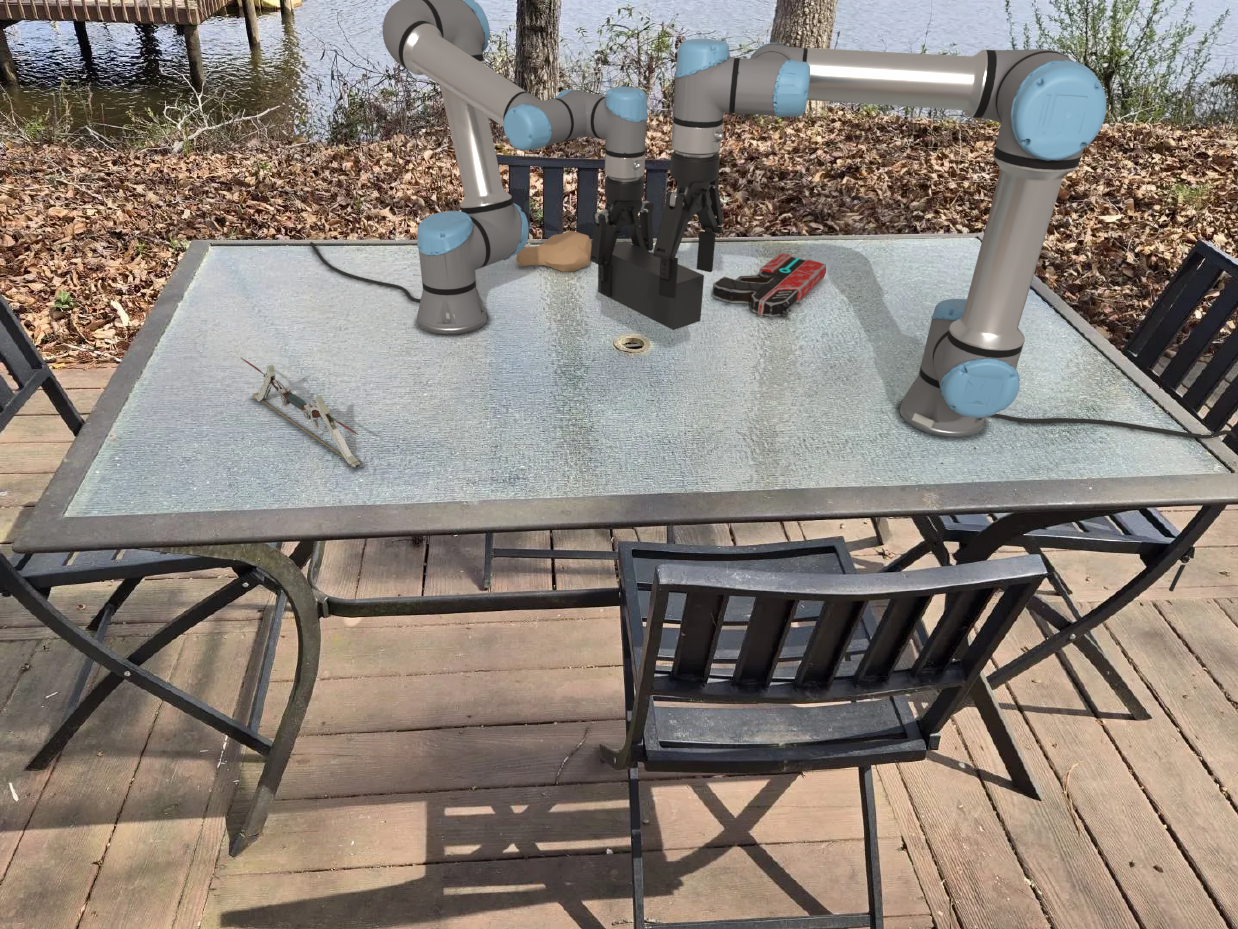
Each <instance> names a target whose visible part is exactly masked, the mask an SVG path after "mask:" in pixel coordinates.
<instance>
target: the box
mask: <svg viewBox="0 0 1238 929" xmlns="http://www.w3.org/2000/svg"><path fill="white" fill-rule="evenodd" d="M604 259H605V258H604ZM660 261H661V258H658V257H654V256H653V251H647V250H645V249H642V248H640V247H638V246H636V245H633V244H632V242H628V241H626V240H625V241H624V240H623V241H621V242H616V244H615V247H614V250H613V254H612V257H611V260H610V264H611V265H613V271H612V297H608V296H606V295H604V294H602V293H601V280H600V279H599V265H598V264H597V293H599V294H601V295H603V296H605V297H607V298H609V299H611V300H612V301H615V302H617V303H619V304H621V305H623V306H624V307H626V308H628V309H630V310H632V311H634V312H636V313H638V314H641V315H642V316H644V317H646V318H649V319H650V320H652V321H653V322H656V323H658V324H660V325H662V326H664V327H666V328H668V329H669V330H672V331H676V330H679V329H682V328H685V327H688V326H689V325H693V324H695V323H699V322H701V319H702V308H703V306H702V305H703V296H704V295H703V293H704V281H705V275H704V274H703V273H701V272H697V270H693V269H691V268H688V267H686V266H683V265H681V264H679V263H678V269H677V284H676V297H675V298H674V299H673V298H669V297H665V296H661V295H659V280H660Z"/></svg>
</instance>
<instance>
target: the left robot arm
mask: <svg viewBox="0 0 1238 929" xmlns="http://www.w3.org/2000/svg"><path fill="white" fill-rule="evenodd" d="M382 22H383V23H382V39H383V42H384V45H385V48H386V50H387V52H388V54H389V55H390V56H391V57H392V59H394V61H395V62H396V63H398V64H399V66H401V67H402V68H404V69H405V70H407V71H408V72H410V73H411V74H413V75H415V76H423V75H424V76H425V77H427V78H428V79H430V80H431V81H433V82H435V83H436V84H437V85H439V88H440V91H441V92H440V93H441V97H442V101H443V105H444V110H445V114H446V118H447V123H448V128H449V132H450V137H451V142H452V145H453V146H452V147H453V149H454V154H455V158H456V163H457V168H458V173H459V177H460V181H461V185H462V190H463V195H464V197H463V199H462V201H461V203H460V204H459V208H460V210H447V211H445V212H444V211H440V212H436V213H433V214H431V215H428V216H427V217H425V218H424V219H422V220H421V222H419V224H418V227H417V230H416V233H417V241H416V245H417V249H418V256H419V264H420V266H419V267H420V275H421V276H420V277H421V284H422V292H421V297H420V298H417V297H414V296H412V295H411V294H410V292H409V291H408V290H407V289H406V288H405V287H403V286H402V285H398V284H395V283H390V282H385V281H379V280H375V279H371V278H367V277H362V276H358V275H355V274H352V273H349V272H346V271H343V270H341V269H339V268H337V267H335V266H333V265H332V264H330V262H328V261H327V260H325V258H324V257H323V256H322V254H321V252H320V251H319V250H318V249H317V247H316V246H315V244H314V242H313V241H310V242H309V244H310V246H311V247H312V249H313V251H314V253H316V255H317V257H318V258H319V260H320V261H321V262H322V263H323V264H324V265H325V266H326V267H328V268H329V269H330V270H332V271H333V272H336V273H338V274H340V275H343V276H346V277H348V278H352V279H355V280H358V281H361V282H366V283H370V284H375V285H380V286H382V287H383V286H384V287H390V288H394V289H398V290H400V291H402V292H403V293H404V294H405V295H406V297H407V298H408V299H409V300H410V301H412V302H415V303H419V305H418V310H417V315H416V318H417V325H418V326H419V328H420V329H421V330H423V331H424V332H427V333H430V334H433V335H440V336H459V335H465V334H469V333H473V332H476V331H477V330H480V329H481V328H483V327H484V326H485V325H486V323H487V320H488V316H487V310H486V306H485V304H484V302H483V299H482V298H481V295H480V293H479V291H478V288H477V278H476V277H477V276H476V271H477V270H479V269H483V268H485V267H488V266H491V265H492V264H496V263H499V262H501V261H507V260H509V259H511V258H512V257H514V256H517V254H518V253H520V252H521V251H522V250H523V248H524V247H526V245H527V242H528V240H529V235H530V234H529V233H530V227H529V221H528V217H527V215H526V214H525V212H524V211H522V208H521V206H520V205H518V204H516V203H514V202H513V196H512V194H510V193H508V192H507V191H506V190H505V189H504V186H503V182H502V178H501V173H500V168H499V167H500V166H499V162H498V158H497V153H496V148H495V143H494V138H493V134H492V128H491V124H490V119H491V120H492V121H494V122H495V123H497V124H498V125H500V126H502V127H503V131H504V135H505V137H506V139H507V140H508V141H509V144H510V145H511V146H512V147H513V148H515V149H516V150H518V151H530V150H533V151H535V150H539V149H542V148H545V147H548V146H552V145H554V144H559V143H562V142H566V141H571V140H574V139H579V138H582V137H590V138H594V139H598V140H603V141H604V149H605V150H604V151H605V152H604V174H605V175H606V176H605V178H604V196H605V199H606V202H605V205H604V209H601V210H600V211H596V210H595V211H593V212H592V221H593V228H592V236H591V237H592V238H591V244H592V246H591V255H590V261H591V262H592V263H594V264H596V265H597V266H598V265H599V279H600V280H601V293H602V294H601V293H600V294H601V295H603V294H604V295H603V296H605V295H606V296H605V297H607V296H608V297H607V298H609V297H612V271H613V265H611V264H610V260H611V257H612V254H613V250H614V247H615V244H617V240H618V237H619V234H620V233H621V232H622V230H623V228H624V227H625V226H626V227H627V230H628V233H629V237H630V240H631V244H633V245H636V246H638V247H640V248H642V249H645V250H647V251H649V252H653V251H654V231H653V227H654V226H653V212H654V207H655V204H654V203H653V202H650V201H648V200H646V199H643V200H642V198H643V197H644V194H645V178H644V175H645V170H646V169H645V168H646V167H645V166H646V164H645V163H646V138H647V127H648V126H647V125H648V118H649V113H648V95H647V93H646V92H645V90H643V89H641V88H639V87H634V86H613V87H610V88H609V89H607V90H606V94H605V95H600V94H596V93H592V92H588V91H587V92H586V91H584V90H582V89H563V90H561V91H560V92H559V93H558V95H556V96H555V97H554V98H550V99H545V100H544V99H543V100H542V99H539V98H538V97H536V96H534V95H533V94H531V93H530V92H528V91H526V90H525V89H524V88H522V87H520V86H518V85H517V84H515V83H514V82H513V81H510V80H509V79H507V78H506V77H505V76H503V75H501V74H500V73H498V72H496V71H495V70H494V69H492V68H490V67H489V66H487V65H486V64H485V59H484V54H483V53H484V52H485V51H486V50H487V49H488V46H489V41H490V39H491V29H490V28H491V27H490V24H489V19H488V18H487V14H486V13H485V11H484V9H483V8H482V6H481V5H480V4H479V3H478V2H477V1H475V0H397V1H396V2H394V3H393V5H391V6H390V8H389V9H387V12H386V13H385V15H384V18H383V21H382ZM604 258H605V259H604Z"/></svg>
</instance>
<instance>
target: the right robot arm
mask: <svg viewBox="0 0 1238 929" xmlns="http://www.w3.org/2000/svg"><path fill="white" fill-rule="evenodd" d="M675 65H676V66H675V73H674V93H673V115H672V116H673V117H672V132H671V143H670V144H671V145H670V147H671V149H672V152H671V154H670V166H669V175H670V177H671V178H672V179H674V180H675V181H676V182H677V187H676V191H673V192H672V191H667V192H666V195H665V203H664V208H663V213H662V217H661V220H660V224H659V228H658V231H657V235H656V240H655V244H654V246H653V250H652V253H653V256H654V257H658V258H661V261H660V280H659V295H661V296H665V297H669V298H673V299H674V298H675V297H676V284H677V269H678V264H679V258H678V257H676V256H677V254H678V252H679V248H680V246H681V243H682V240H683V237H684V235H685V232H686V230H687V227H688V224H689V222H692V220H693V219H694V216H695V215H696V218H697V219H698V222H699V224H700V227H701V231H699V233H698V244H697V255H696V256H697V257H696V270H699V271H703V272H708V273H712V272H713V271H714V270H713V269H714V258H715V248H716V246H715V245H716V235H717V234H719V235H720V234H722V232H723V224H724V217H723V211H722V204H721V196H720V190H719V184H720V183H719V180H720V177H719V173H720V162H721V156H720V155H719V151H721V147H722V146H721V145H722V140H723V139H724V136H725V135H724V134H725V133H723V124H724V115H725V114H727V113H729V114H741V115H753V116H754V115H755V116H769V117H777V118H780V119H781V118H785V117H795V118H796V117H800V116H802V115H803V114H804V113H805V112H806V108H807V104H808V101H815V102H830V103H831V102H833V103H847V104H860V105H861V104H863V105H878V106H879V105H880V106H895V107H897V106H898V107H911V108H928V109H941V110H942V109H944V110H958V111H963V113H965V115H966V116H967V117H968V118H972V119H974V118H975V119H983V120H984V119H985V120H989V121H992V122H996V123H998V124H1000V125H999V130H998V134H997V138H996V142H995V146H994V151H993V155H992V159H993V160H994V161H995V163H996V164H997V165H998V167H999V175H998V178H997V182H996V186H995V190H994V193H993V197H992V202H991V205H990V209H989V213H988V217H987V220H986V224H985V228H984V231H983V236H982V240H981V243H980V247H979V251H978V254H977V259H976V263H975V267H974V271H973V274H972V278H971V281H970V285H969V290H968V294H967V298H949V299H944V300H941V301H940V302H938V303H937V304H936V305H935V308H934V310H933V314H932V315H931V317H930V318H931V321H930V325H929V330H928V333H927V338H926V342H925V346H924V351H923V354H922V359H921V363H920V367H919V372H918V374H917V376H916V378H915V379H914V380H913V383H912V384H911V386H910V387H909V389H908V390H907V392H906V393H905V394H904V396H903V398H902V401H901V405H900V407H899V413H900V415H901V418H902V419H903V420H904V421H905V422H906V423H908V425H910V426H911V427H913V428H915V429H916V430H918V431H921V432H923V433H926V434H928V435H932V436H937V437H941V438H949V439H950V438H952V439H961V438H969V437H972V436H975V435H977V434H979V433H980V432H981V431H982V430H983V427H984V425H985V421H986V418H987V417H988V418H994V419H1001V420H1005V421H1010V422H1016V423H1023V424H1024V423H1025V424H1048V423H1049V424H1050V423H1051V424H1052V423H1067V424H1068V423H1069V424H1070V423H1071V424H1092V425H1093V424H1094V425H1106V426H1113V427H1114V426H1115V427H1121V428H1128V429H1134V430H1139V431H1145V432H1152V433H1159V434H1165V435H1171V436H1177V437H1185V438H1193V439H1203V440H1204V439H1207V440H1208V439H1214V438H1218V437H1221V436H1224V435H1226V436H1229V437H1230V438H1231V439H1237V435H1236V434H1235V433H1234V432H1233V431H1232V430H1228V429H1223V430H1219V431H1216V432H1212V433H1210V434H1211V435H1201V434H1202V433H1194V432H1192V433H1193V434H1190V433H1191V432H1186V431H1181V430H1179V431H1178V430H1172V429H1167V428H1160V427H1154V426H1147V425H1141V424H1136V423H1129V422H1122V421H1117V420H1108V419H1097V418H1096V419H1094V418H1080V417H1079V418H1078V417H1077V418H1075V417H1074V418H1073V417H1047V418H1046V417H1045V418H1027V417H1026V418H1025V417H1017V416H1011V415H1006V414H1001V413H999V412H1003V411H1004V410H1006V409H1007V408H1008V407H1009V406H1010V405H1012V404H1013V402H1014V401H1015V400H1016V399H1017V397H1018V395H1019V392H1020V388H1021V387H1020V385H1021V384H1020V381H1021V379H1020V374H1019V372H1018V370H1017V367H1018V364H1019V361H1020V358H1021V354H1022V351H1023V348H1024V344H1025V340H1026V338H1025V335H1024V333H1023V332H1022V331H1021V330H1020V327H1019V326H1020V322H1021V319H1022V315H1023V312H1024V309H1025V305H1026V302H1027V299H1028V296H1029V294H1030V293H1029V292H1030V289H1031V286H1032V282H1033V278H1034V276H1035V273H1036V269H1037V266H1038V264H1039V263H1038V262H1039V260H1040V256H1041V253H1042V249H1043V245H1044V242H1045V239H1046V235H1047V232H1048V229H1049V226H1050V223H1051V219H1052V216H1053V213H1054V209H1055V206H1056V202H1057V199H1058V196H1059V193H1060V188H1061V186H1062V182H1063V179H1064V177H1066V176H1067V175H1069V174H1070V173H1072V172H1074V171H1075V170H1077V169H1078V168H1079V166H1080V163H1081V158H1082V156H1083V152H1084V150H1085V148H1086V147H1087V146H1089V145H1091V143H1092V142H1093V141H1094V140H1095V138H1096V137H1097V136H1098V134H1099V133H1100V132H1101V129H1102V126H1103V124H1104V122H1105V118H1106V114H1107V96H1106V92H1105V90H1104V87H1103V85H1102V83H1101V81H1100V80H1099V78H1098V77H1097V75H1096V74H1095V72H1093V71H1092V70H1091V69H1090V68H1089V67H1088V66H1086V65H1084V64H1082V63H1080V62H1078V61H1074V60H1073V59H1072V58H1070V57H1069V56H1067V55H1065V54H1064V53H1062V52H1059V51H1058V50H1054V49H1053V50H1052V49H1047V48H1046V49H1045V48H1032V49H1031V48H1030V49H1029V48H1028V49H980V51H978V52H977V53H976V54H974V55H972V56H971V55H969V56H968V55H951V54H933V53H916V52H915V53H914V52H894V51H874V50H857V49H856V50H854V49H839V48H837V49H835V48H817V47H797V46H786V45H785V44H783V43H779V42H768V43H764V44H763V45H760V46H759V47H758V48H757V49H756V50H754V52H753V53H752V54H751V55H750V58H746V57H745V58H744V57H735V56H731V53H730V46H729V44H728V43H727V42H726V41H723V40H719V39H712V38H693V39H686V40H684V41H682V43H681V44H680V45H679V46H678V49H677V57H676V64H675ZM1212 436H1213V437H1212ZM1186 565H1187V564H1180V566H1179V567H1178V569H1177V571H1176V573H1175V575H1174V577H1173V579H1172V581H1171V584H1170V586H1169V588H1168V591H1169V592H1171V593H1173V592H1174V590H1175V588H1176V586H1177V584H1178V583H1179V582H1178V581H1179V580H1180V578H1181V576H1182V573H1183V571H1184V570H1185V568H1186Z"/></svg>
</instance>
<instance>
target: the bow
mask: <svg viewBox="0 0 1238 929" xmlns="http://www.w3.org/2000/svg"><path fill="white" fill-rule="evenodd" d="M240 359H241V360H242V361H243V362H245V363H246V364H248V365H249V366H250V367H252V368H253V369H255V370H256V371H258V372H259V373H260V374H262V375H263V383H262V384H261V385H260V387H259V389H258V392H255V393H253V394H252V397H253V399H254V400H255V401H257V402H262V403H263V404H265V405H266V406H268V407H269V408H271V409H272V410H274V411H275V412H277V413H278V414H280V416H282V417H284V418H285V419H287V420H289V421H290V422H291V423H293V424H294V425H295V426H297V427H298V428H300V429H301V430H303V431H304V432H306V433H307V434H309V435H310V436H311V437H313V438H314V439H316V440H317V441H319V442H320V443H322V445H325V446H326V447H328V449H330V450H332V451H333V452H335V453H336V454H337V455H339V456H341V457H342V458H343V459H345V461H346V462H347V463H348V464H349V466H351V467H353V468H357V466H361V465H362V464H361V462H359V460H358V459H357V458H356V457H355V456H354V454H353V453H352V452H351V450H350V448H349V446H348V444H347V442H346V440H345V438H344V437H343V435H342V433H341V431H340V430H339V428H338V425H340V426H341V427H343V428H345V429H346V430H348V431H349V432H351V433H353V434H355V435H357V436H358V435H359V433H358V432H356V431H355V430H354V429H352V428H351V427H349V426H347V425H346V424H344V423H342V422H340V421H339V420H336V419H335V418H334V417H333V415H332V413H331V411H330V409H329V408H328V407H327V404H326V403H325V400H324V397H323V396H322V395H318V396H315V402H314V401H312V402H310V403H307V402H306V400H304V399H303V398H302V397H300V396H299V395H297V394H295V393H293V392H292V388H291V386H289V385H288V386H286V387H285V385H284V384H283V383H282V382H280V381H279V380H277V379H276V371H275V367H274V364H271V365H268V366H267V367H266V372H265V373H264V372H263V371H261V370H260V368H259V367H256V366H255V364H252V363H250V361H248V360H246V359H244V358H243V357H242V356H240ZM272 387H273V388H274V389H275V390H276V391H277V392H278V395H279V397H280V405H281V407H282V408H286V407H288V406H289V407H290V405H292V406H293V407H295V408H296V409H298V410H300V411H302V414H303V417H304V418H305V419H307V420H309V421H310V422H311V425H312V428H313V429H315V430H316V429H318V428H321V427H322V425H321V423H320V419H319V418H321V419H322V420H323V422H324V424H325V426H326V428H327V429H328V431H329V433H330V435H331V437H332V439H333V442H334V443H335V445H336V446H337V448H338V451H339V452H338V451H337V450H336V449H334V448H332V447H331V446H330V445H328V444H327V443H325V442H324V441H323V440H321V439H319V438H318V437H317V436H315V435H314V434H312V433H311V432H309V431H308V430H307V429H305V428H304V427H302V426H300V424H297V423H296V422H295V421H293V420H292V419H291V418H289V417H288V416H286V415H285V414H284V413H282V412H280V411H279V410H277V409H276V408H274V407H273V406H271V405H270V404H269V403H268V402H266V401H265V400H266V399H267V398H268V397H269V394H270V393H271V390H272ZM337 424H338V425H337Z"/></svg>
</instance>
